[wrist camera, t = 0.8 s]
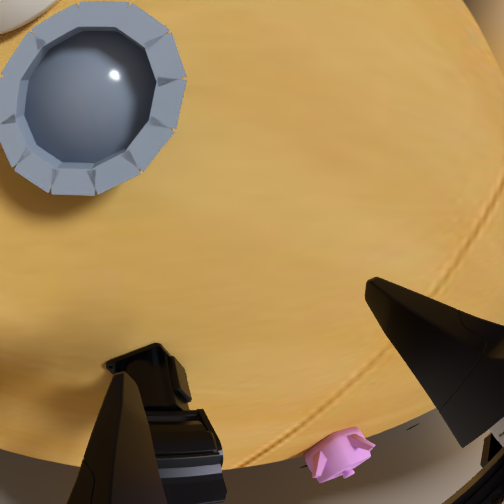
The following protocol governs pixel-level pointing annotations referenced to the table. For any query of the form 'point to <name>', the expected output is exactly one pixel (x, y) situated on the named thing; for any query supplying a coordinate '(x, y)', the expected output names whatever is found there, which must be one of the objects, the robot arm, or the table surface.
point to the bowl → (90, 97)
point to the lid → (21, 12)
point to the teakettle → (338, 454)
